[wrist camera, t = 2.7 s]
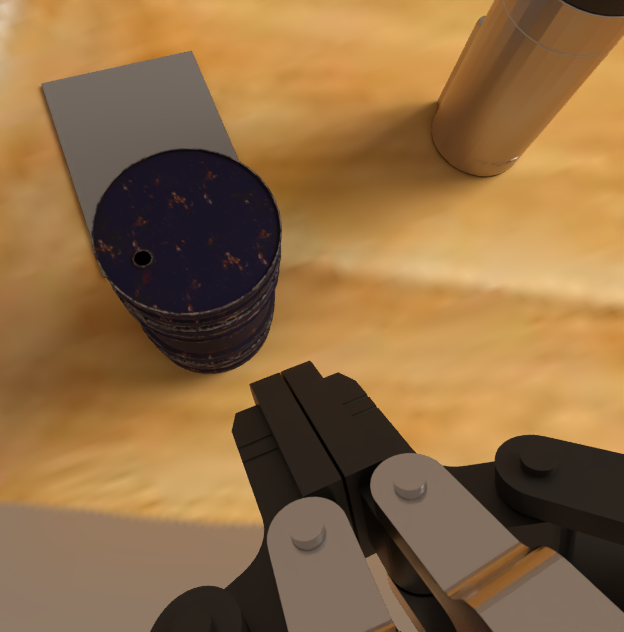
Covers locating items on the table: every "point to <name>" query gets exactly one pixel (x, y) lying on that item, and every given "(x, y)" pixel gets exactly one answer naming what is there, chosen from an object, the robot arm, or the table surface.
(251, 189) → the dark ribbed cylinder
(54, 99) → the mat
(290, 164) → the table surface
